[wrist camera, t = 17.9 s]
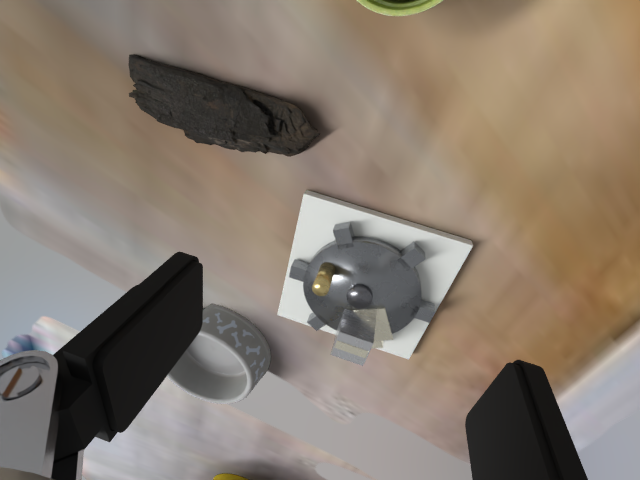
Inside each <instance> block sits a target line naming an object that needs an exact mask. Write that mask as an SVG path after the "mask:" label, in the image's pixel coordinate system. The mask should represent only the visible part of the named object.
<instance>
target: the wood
mask: <svg viewBox="0 0 640 480" xmlns="http://www.w3.org/2000/svg"><path fill="white" fill-rule="evenodd" d="M129 69H130V77H131V78H132V80H133V81H134V82H135V83H136V84H134V85H133V86H134V87H136V89H137V90H133V92H131V93H129V97H133V98H135V100H136V103H137V104H138V106H139V107H140V109H141V110H143V111H144V112H146V113H148V114H149V115H151V116H152V117H154V118H155V119H157V121H158V122H161V123H163V124H166V125H169V126H172V127H175V128H179V129H183V130H184V132H185V136H186V137H187V138H189V139H192V140H194V141H195V142H196V143H204V144H209V145H212V144H216V145H219V146H221V147H224V148H228V149H233V150H235V149H237V150H239V151H241V152H245V151H251V152H257V151H258V150H260V151H261V152H263V153H265V154H266V153H267V152H272V153H277V154H284V155H286V156H293V155H296V154H299V153H301V152H302V151H304V150H305V149H306V148H307V147H309V146H308V145H309V144H310V142H311V141H312V140H313V139H314V138H316V137H317V136H318V135H320V134H319V133H318V131H317V129H315V128H313V127H311V126H310V123H309V121H308V120H307V119H306V118H305V116H304V114H303V113H302V111H301V109H299V108H298V107H296V106H295V105H293V104H290V103H288V102H284V101H282V100H281V99H278V98H275V97H272V96H269V95H265V94H262V93H259V92H257V91H253V90H250V89H248V88H245V87H240V86H236V85H231V84H229V83H223V82H221V81H218V80H215V79H212V78H209V77H206V76H204V75H201V74H195V73H192V72H190V71H186V70H182V69H179V68H176V67H173V66H168V65H163V64H160V63H157V62H154V61H150V60H148V59H145V58H143V57H141V56H138V55H129Z"/></svg>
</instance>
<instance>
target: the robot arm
mask: <svg viewBox="0 0 640 480" xmlns="http://www.w3.org/2000/svg"><path fill="white" fill-rule="evenodd" d="M202 323H203V266H202V264H201V263H199V260H198V258H197V257H195V256H192V255H189V254H186V253H183V252H177V253H175V254H174V255H173V256H172V257H171V258H170V259H168V260H167V261H166V262H165V263H164V264H163V265H161V266H160V267H159V268H158V269H157V270H156V271H154V272H153V273H152V274H151V275H150V276H149V277H147V278H146V279H145V280H144V281H143V282H142V283H140V284H139V285H136V286H135V287H133V288H132V289H130V290H129V291H128V292H127V293H126V294H125V295H123V296H122V297H121V298H120V299H119V300H117V301H116V302H115V303H114V304H113V305H111V306H110V307H109V308H108V309H107V310H106V311H104V312H103V313H102V314H101V315H100V316H98V317H97V318H96V319H95V320H94V321H93V322H91V323H90V324H89V325H88V326H87V327H86V328H84V329H83V330H82V331H81V332H80V333H78V334H77V335H76V336H75V337H74V338H73V339H71V340H70V341H69V342H68V343H67V344H66V345H64V346H63V347H62V348H61V349H60V350H58V351H57V352H56V353H55V354H54V355H52V354H50V353H48V352H45V351H37V350H34V351H24V352H20V353H17V354H13V355H10V356H8V357H6V358H4V359H2V360H0V480H81V479H82V467H83V453H84V449H85V448H86V447H87V446H88V444H89V443H90V442H91V441H92V440H93V438H94V437H97V438H100V439H103V440H105V441H108V442H110V441H111V440H112V439H113V437H114V436H115V435H116V434H117V432H119V433H121V432H123V431H125V430H126V429H127V428H128V426H129V425H130V424H131V422H132V421H133V420H134V419H135V417H136V416H137V415H138V413H139V412H140V411H141V409H142V408H143V407H144V405H145V404H146V403H147V401H148V400H149V399H150V397H151V396H152V395H153V393H154V392H155V391H156V389H157V388H158V387H159V385H160V384H161V383H162V381H163V380H164V379H165V378H166V376H167V375H168V374H169V372H170V371H171V370H172V368H173V367H174V366H175V364H176V363H177V362H178V360H179V359H180V358H181V356H182V355H183V354H184V352H185V351H186V350H187V348H188V347H189V346H190V344H191V343H192V342H193V340H194V339H195V338H196V336H197V335H198V334H199V332H200V330H201V328H202ZM465 425H466V434H467V441H468V449H469V456H470V463H471V471H472V478H473V480H588V479H587V476H586V474H585V471H584V469H583V466H582V464H581V461H580V459H579V456H578V454H577V451H576V449H575V446H574V444H573V441H572V439H571V436H570V434H569V431H568V429H567V426H566V424H565V421H564V419H563V416H562V414H561V411H560V409H559V406H558V404H557V402H556V399H555V397H554V394H553V392H552V389H551V387H550V384H549V382H548V379H547V377H546V374H545V372H544V370H543V369H542V368H541V367H540V366H537V365H534V364H531V363H527V362H524V361H521V360H516V361H514V362H513V363H507V364H506V365H505V367H504V368H503V369H502V371H501V372H500V373H499V374H498V376H497V377H496V378H495V380H494V381H493V382H492V383H491V385H490V386H489V387H488V389H487V390H486V391H485V392H484V394H483V395H482V396H481V398H480V399H479V400H478V401H477V403H476V404H475V405H474V407H473V408H472V409H471V410H470V412H469V413H468V415H467V417H466V424H465Z"/></svg>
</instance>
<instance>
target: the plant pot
mask: <svg viewBox="0 0 640 480" xmlns="http://www.w3.org/2000/svg"><path fill="white" fill-rule="evenodd" d="M357 1H358V2H359V3H360V4H361V5H363V6H364V7H366V8H368V9H370V10H371V11H374V12H376V13H379V14H383V15H388V16H408V15H413V14H417V13H420V12H423V11H426V10H428V9H430V8H432V7H434V6H436V5H438V4H439V3H441V2H442V1H444V0H357Z"/></svg>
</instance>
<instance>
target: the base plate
mask: <svg viewBox="0 0 640 480" xmlns="http://www.w3.org/2000/svg"><path fill="white" fill-rule="evenodd" d="M346 222H351V225H352V229H353V232H354V236H363V237H371V238H375V239H379V240H382V241H385V242H387V243H389V244H391V245H393V246H395V247H396V248H398V249H399V250H402V249H404V248H405V247H407V246H408V245H409V244H411V243H412V242H415V243H416V244H417V245H418V246H419V247H420V248H421V249H422V250H423V251H424V252H425V258H426V259H425V260H424V261H422V262H421V263H419V264H418V265H416V266H415V267H416V269H417V271H418V274H419V277H420V281H421V295H422V298H421V300H424V301H428V302H431V303H434V304H435V312H436V310H437V309H438V307H439V305H440V303H441V302H442V300H443V298H444V296H445V294H446V293H447V291H448V289H449V287H450V286H451V284H452V282H453V280H454V279H455V277H456V275H457V273H458V272H459V270H460V268H461V266H462V264H463V263H464V261H465V259H466V257H467V256H468V254H469V252H470V250H471V249H472V247H473V244H472V241H471V240H469V239H465V238H462V237H459V236H456V235H452V234H449V233H446V232H442V231H439V230H436V229H433V228H429V227H426V226H423V225H420V224H416V223H413V222H410V221H407V220H403V219H400V218H397V217H394V216H390V215H387V214H384V213H381V212H377V211H374V210H371V209H367V208H364V207H361V206H358V205H354V204H351V203H348V202H345V201H341V200H338V199H335V198H332V197H328V196H325V195H322V194H319V193H315V192H312V191H309V190H306V191H305V193H304V195H303V200H302V204H301V209H300V214H299V218H298V223H297V227H296V232H295V237H294V241H293V246H292V250H291V255H290V260H289V264H288V269H287V273H286V278H285V283H284V287H283V292H282V296H281V301H280V305H279V310H278V315H279V316H282V317H285V318H288V319H291V320H294V321H297V322H300V323H303V324H306V325H309V324H308V323H307V321H308V318H309V315H310V314H311V313H313V311H312V310H311V309H310V307H309V305H308V303H307V301H306V299H305V295H304V290H303V282H302V281H299V280H296V279H293V278H290V277H289V274H290V269H291V265H292V263H293V262H294V260H295V259H296V260H299V261H303V262H306V263H310V261H311V259H312V258H313V256H314V255H315V254H316V253H317V251H319V250H320V249H321V248H322V247H323V246H325V245H327V244H328V243H330V242H332V241H334V240H335V237H334V233H333V228H334V226H335V224H340V223H346ZM428 324H429V323H428V322H425V321H422V320H419V319H416V318H414V319H413V320H412V321H411V322H410V323H409V324H408V325H407V326H406V327H404V328H403V329H401V330H399V331H398V332H395V333H393V334H392V335H393V340H384V343H383V348H376V349H379V350H382V351H385V352H388V353H391V354H394V355H397V356H400V357H403V358H406V359H409V358H410V356H411V354H412V353H413V351H414V349H415V347H416V346H417V344H418V342H419V340H420V339H421V337H422V335H423V333H424V332H425V330H426V328H427V326H428ZM309 326H311V325H309ZM311 327H312V326H311ZM320 330H323V331H326V332H329V333H332V334H335V335H336V330H334V329H332V328H331V327H329V326H328V325H325V326H323V327H322V328H320Z"/></svg>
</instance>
